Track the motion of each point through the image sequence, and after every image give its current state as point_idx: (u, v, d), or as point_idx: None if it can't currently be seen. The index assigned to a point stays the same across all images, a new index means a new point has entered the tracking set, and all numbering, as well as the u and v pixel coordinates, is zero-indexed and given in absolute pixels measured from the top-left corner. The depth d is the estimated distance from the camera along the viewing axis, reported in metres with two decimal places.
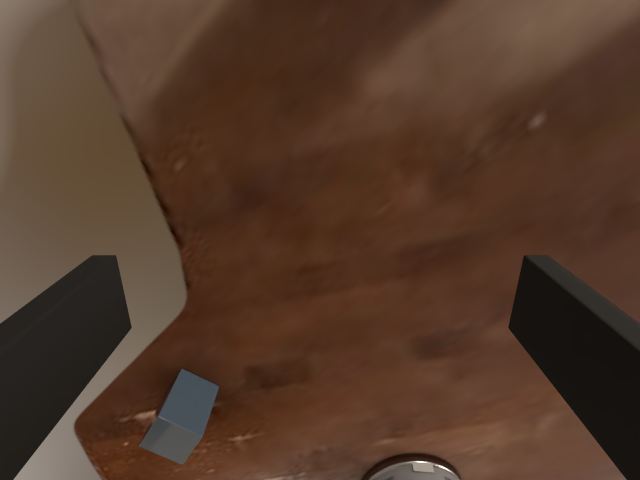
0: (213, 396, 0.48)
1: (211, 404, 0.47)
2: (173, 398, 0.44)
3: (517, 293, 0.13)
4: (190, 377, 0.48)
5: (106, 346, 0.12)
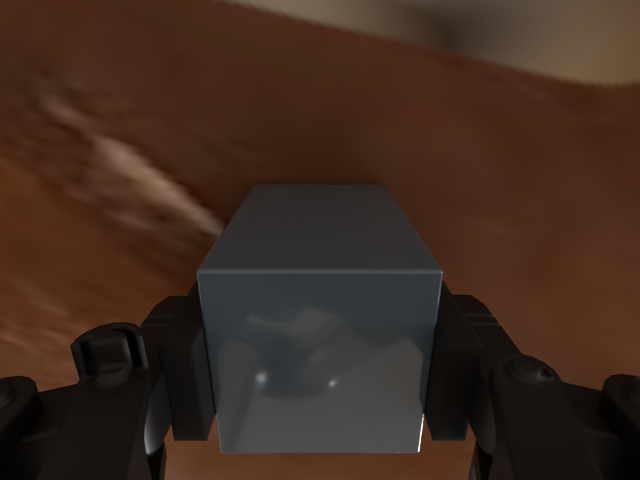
0: None
1: None
2: None
3: None
4: None
5: None
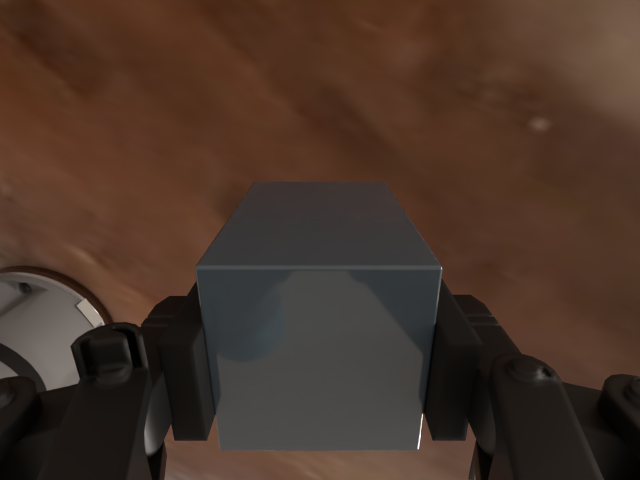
0: None
1: None
2: None
3: None
4: None
5: None
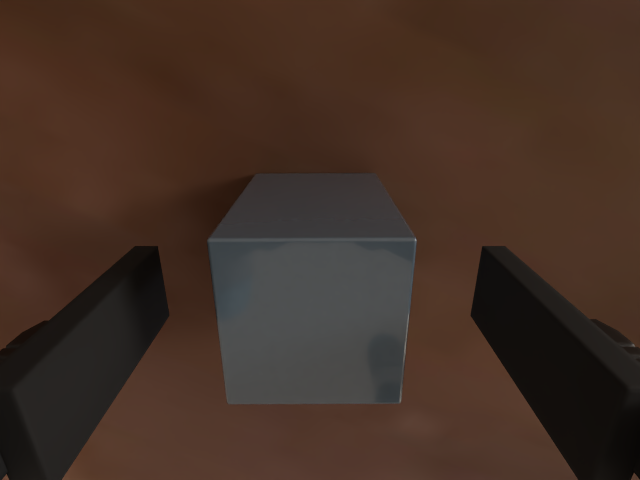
0: None
1: None
2: None
3: (477, 282, 0.13)
4: None
5: (150, 331, 0.12)
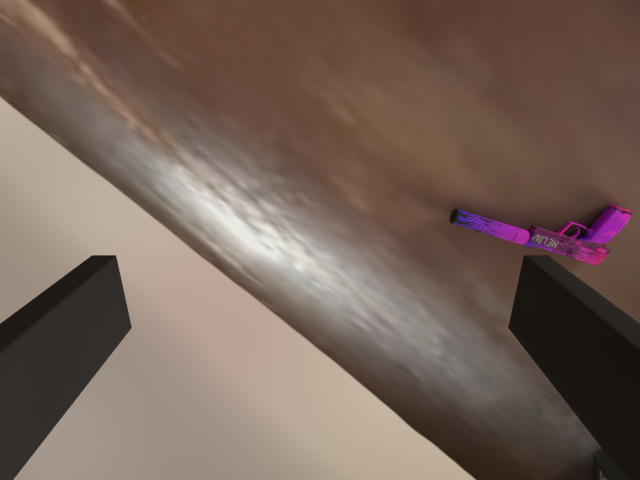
0: None
1: None
2: None
3: (517, 293, 0.13)
4: None
5: (106, 346, 0.12)
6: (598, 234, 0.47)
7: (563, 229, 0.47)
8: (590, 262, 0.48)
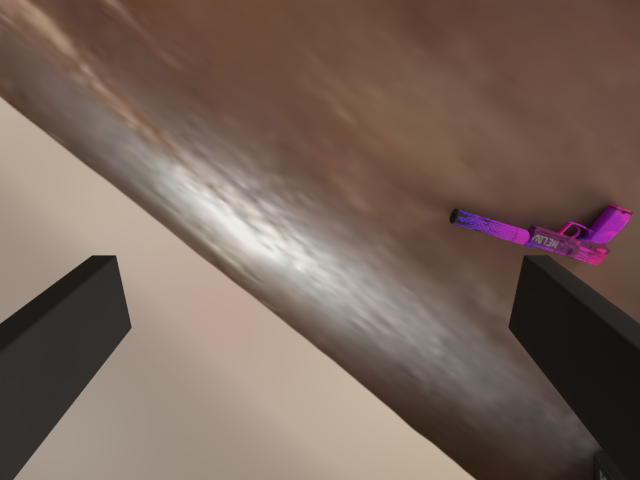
0: None
1: None
2: None
3: (517, 293, 0.13)
4: None
5: (106, 346, 0.12)
6: (598, 234, 0.47)
7: (563, 229, 0.47)
8: (590, 262, 0.48)
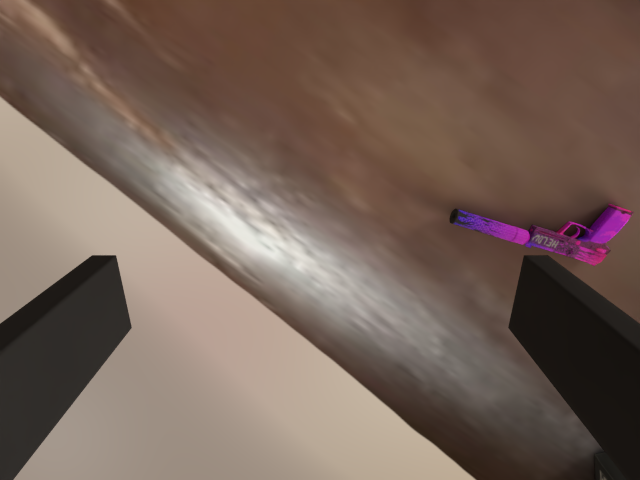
0: None
1: None
2: None
3: (517, 293, 0.13)
4: None
5: (106, 346, 0.12)
6: (598, 234, 0.47)
7: (563, 229, 0.47)
8: (590, 262, 0.48)
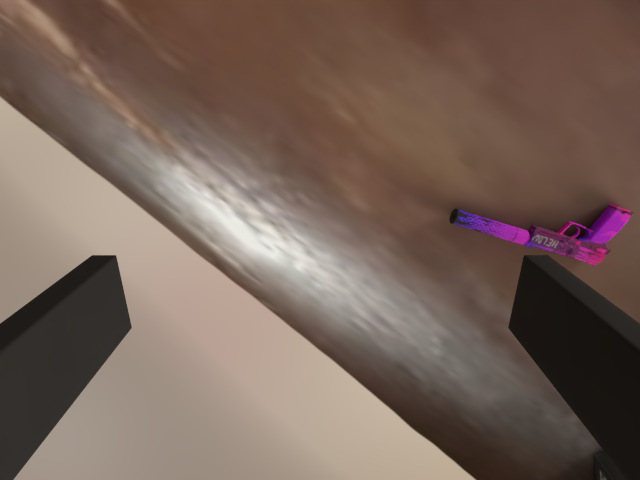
0: None
1: None
2: None
3: (517, 293, 0.13)
4: None
5: (106, 346, 0.12)
6: (598, 234, 0.47)
7: (563, 229, 0.47)
8: (590, 262, 0.48)
